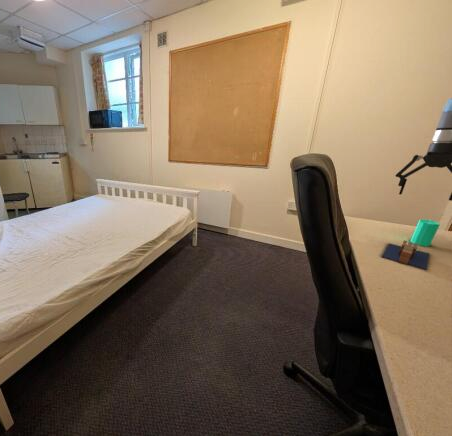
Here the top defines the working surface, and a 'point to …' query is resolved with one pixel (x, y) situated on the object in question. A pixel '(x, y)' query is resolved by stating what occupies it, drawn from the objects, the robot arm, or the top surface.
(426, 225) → the candle
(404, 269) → the top surface
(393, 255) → the placemat
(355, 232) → the top surface
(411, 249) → the brown rectangular bar
